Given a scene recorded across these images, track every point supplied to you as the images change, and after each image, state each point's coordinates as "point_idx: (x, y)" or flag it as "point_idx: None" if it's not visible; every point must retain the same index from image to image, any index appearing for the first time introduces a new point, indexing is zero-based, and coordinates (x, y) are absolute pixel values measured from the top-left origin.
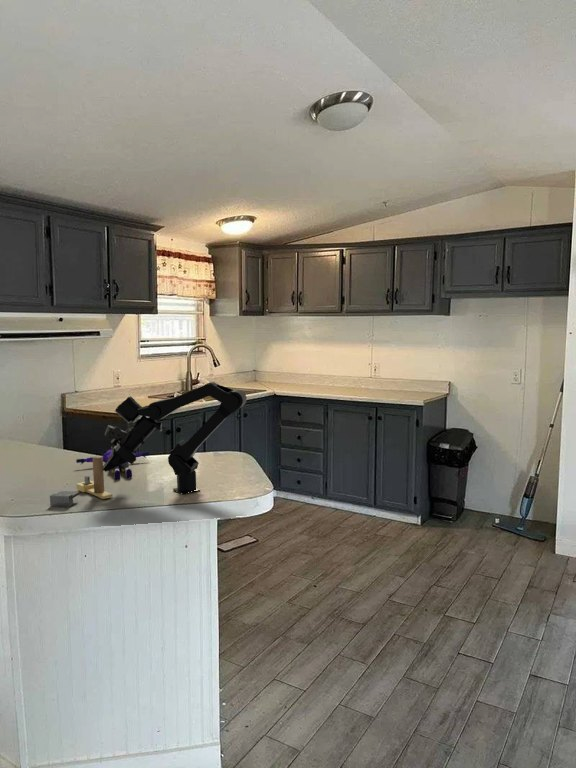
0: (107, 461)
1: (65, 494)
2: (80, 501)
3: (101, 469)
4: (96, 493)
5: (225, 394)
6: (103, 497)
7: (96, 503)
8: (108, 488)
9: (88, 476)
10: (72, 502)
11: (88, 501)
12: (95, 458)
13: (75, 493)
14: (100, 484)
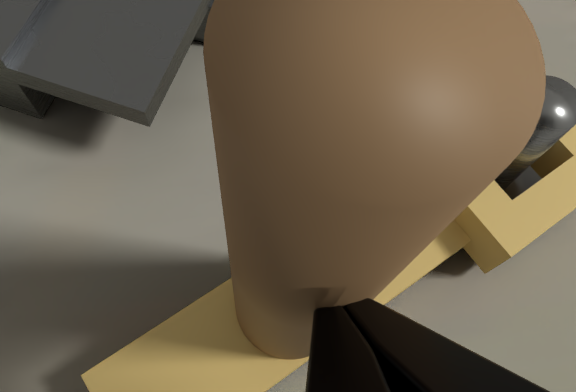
0: (492, 382)
1: (28, 2)
2: (136, 163)
3: (259, 276)
4: (229, 282)
5: None
6: (84, 380)
7: (9, 320)
8: (549, 372)
9: (555, 116)
10: (26, 103)
11: (111, 232)
12: (216, 7)
13: (85, 82)
14: (238, 308)
